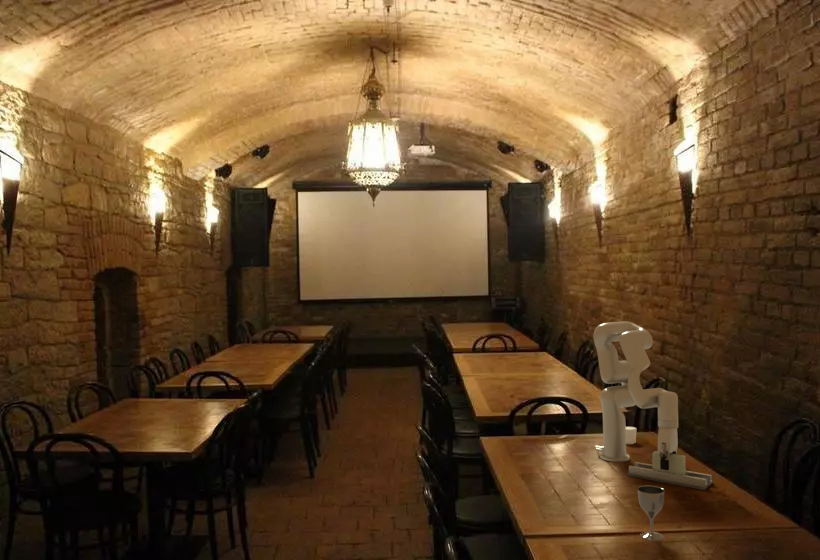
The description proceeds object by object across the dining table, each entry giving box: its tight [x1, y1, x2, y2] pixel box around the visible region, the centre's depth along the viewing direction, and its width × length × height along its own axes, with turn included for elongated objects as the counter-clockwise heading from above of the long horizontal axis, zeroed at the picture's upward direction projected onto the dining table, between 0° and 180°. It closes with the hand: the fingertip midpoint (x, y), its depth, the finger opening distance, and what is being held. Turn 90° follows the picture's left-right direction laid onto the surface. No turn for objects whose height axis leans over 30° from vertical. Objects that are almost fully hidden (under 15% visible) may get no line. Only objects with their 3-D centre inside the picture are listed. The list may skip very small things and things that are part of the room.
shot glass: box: [626, 426, 637, 445], centre depth 325 cm, size 7×7×7 cm
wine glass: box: [637, 484, 665, 542], centre depth 217 cm, size 8×8×15 cm
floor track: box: [626, 461, 714, 491], centre depth 271 cm, size 30×10×4 cm, turn 50°
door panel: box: [651, 450, 687, 475], centre depth 271 cm, size 12×3×9 cm, turn 49°
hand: (668, 466), depth 271 cm, fingers open, 8 cm apart
